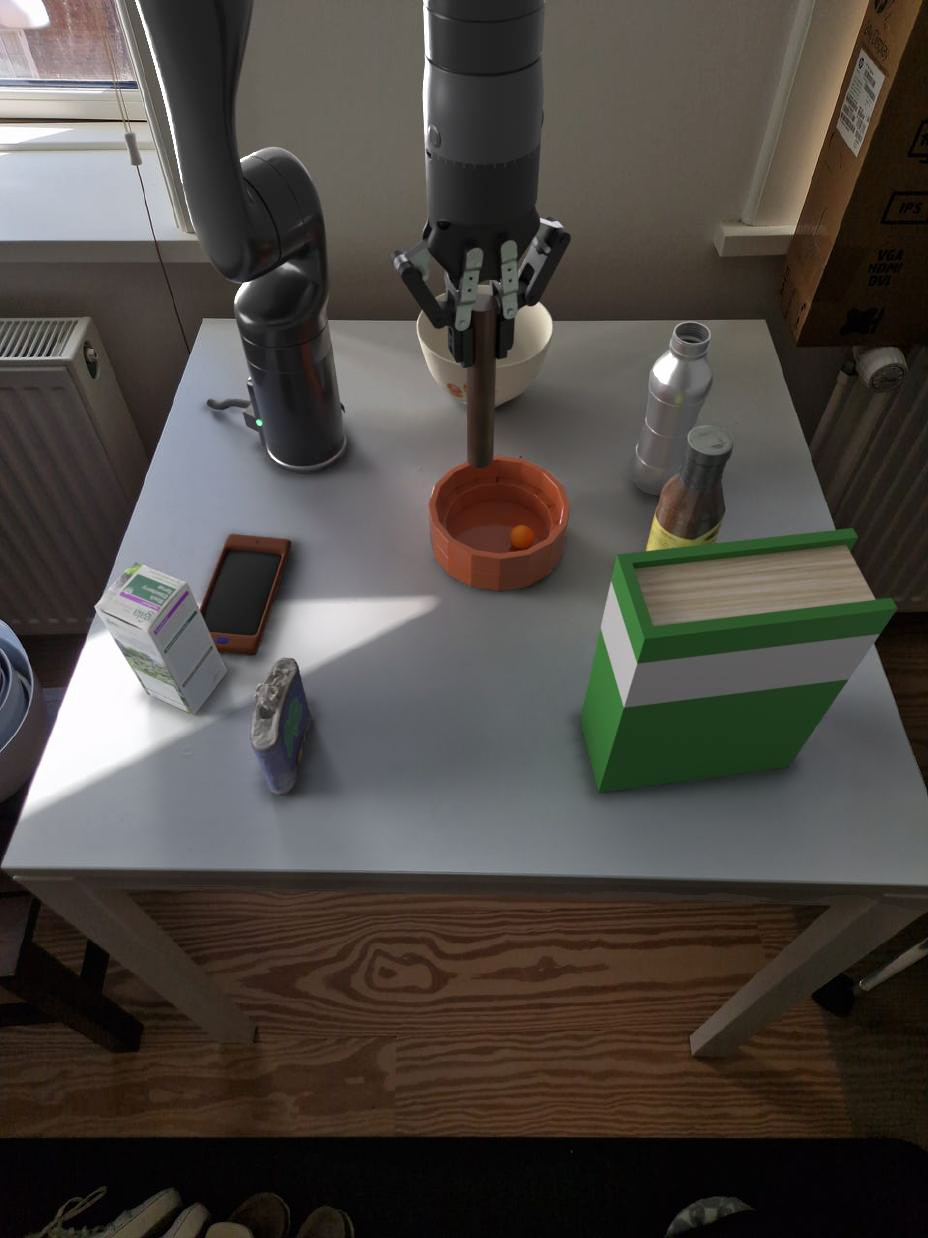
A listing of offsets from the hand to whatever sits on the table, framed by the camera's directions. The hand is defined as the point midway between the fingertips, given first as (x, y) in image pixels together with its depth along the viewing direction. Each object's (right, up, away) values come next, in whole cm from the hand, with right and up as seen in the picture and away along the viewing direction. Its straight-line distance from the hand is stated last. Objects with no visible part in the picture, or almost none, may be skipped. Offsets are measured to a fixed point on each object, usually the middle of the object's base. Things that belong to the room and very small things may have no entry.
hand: (480, 356), depth 68 cm
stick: (0, -7, +9) cm, 11 cm away
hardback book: (+19, -33, +10) cm, 39 cm away
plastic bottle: (+21, -5, +30) cm, 37 cm away
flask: (-17, -33, +10) cm, 39 cm away
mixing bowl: (+2, -13, +25) cm, 28 cm away
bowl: (+1, +7, +39) cm, 40 cm away
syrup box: (-28, -27, +14) cm, 42 cm away
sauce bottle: (+20, -18, +21) cm, 34 cm away
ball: (+5, -12, +22) cm, 26 cm away
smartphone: (-24, -19, +20) cm, 37 cm away
